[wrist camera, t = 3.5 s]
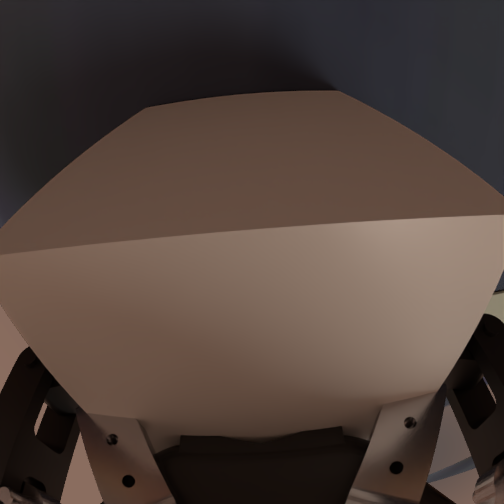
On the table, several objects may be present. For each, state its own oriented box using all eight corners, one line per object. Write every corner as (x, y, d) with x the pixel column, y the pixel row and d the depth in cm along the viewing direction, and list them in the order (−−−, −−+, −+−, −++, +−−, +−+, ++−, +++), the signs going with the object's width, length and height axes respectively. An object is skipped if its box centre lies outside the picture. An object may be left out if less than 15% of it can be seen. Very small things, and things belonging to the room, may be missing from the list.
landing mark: (552, 278, 16) (553, 280, 16) (512, 348, 20) (513, 350, 20) (484, 294, 16) (486, 296, 16) (445, 369, 21) (446, 371, 20)
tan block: (338, 90, 10) (523, 214, 3) (327, 316, 16) (362, 481, 9) (145, 107, 10) (-26, 258, 3) (197, 325, 16) (180, 493, 9)
